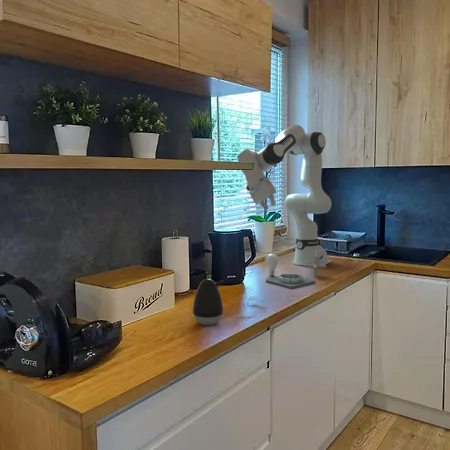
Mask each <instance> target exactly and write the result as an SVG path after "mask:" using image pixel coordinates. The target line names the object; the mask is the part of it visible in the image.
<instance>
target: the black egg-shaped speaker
mask: <svg viewBox="0 0 450 450" xmlns="http://www.w3.org/2000/svg"><path fill="white" fill-rule="evenodd" d="M223 283H224V280H222V279H221V280H219V281H217V282H215V281H214V280H213V279H211V278H204V279H203V280H202V281H201V282H200V283H199V285H198V287H197V289H196V292H195V296H194V299H193V304H192V305H193V307H192V314H193V316H194V319H195V320H196V322H197V323H198V324H200V325H203V326H213V325H215V324H218V323H219V322H220V320H221V319H222V316H223V313H224V305H223V301H222V300H223V299H222V296H221V295H222V294H221V293H220V290H219V286H221V285H222V284H223Z"/></svg>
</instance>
